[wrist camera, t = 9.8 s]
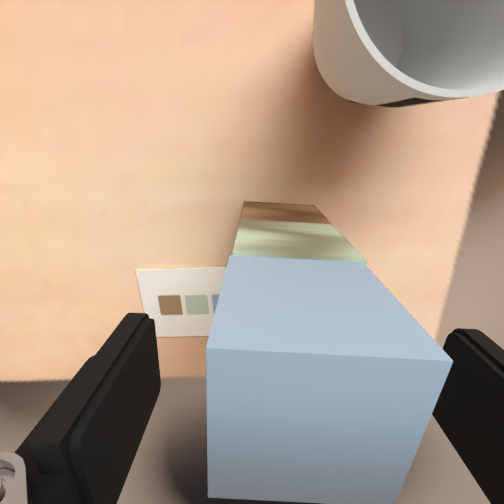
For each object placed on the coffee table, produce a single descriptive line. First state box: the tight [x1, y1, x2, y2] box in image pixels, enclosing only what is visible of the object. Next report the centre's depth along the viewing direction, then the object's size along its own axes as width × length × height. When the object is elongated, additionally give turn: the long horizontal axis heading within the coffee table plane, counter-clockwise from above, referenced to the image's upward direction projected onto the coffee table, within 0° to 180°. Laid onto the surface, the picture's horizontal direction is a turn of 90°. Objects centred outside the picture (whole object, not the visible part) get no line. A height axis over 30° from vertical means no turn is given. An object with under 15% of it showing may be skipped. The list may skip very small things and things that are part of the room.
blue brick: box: [206, 255, 453, 504], centre depth 9 cm, size 5×5×5 cm
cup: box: [312, 0, 504, 107], centre depth 11 cm, size 8×8×10 cm
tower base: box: [232, 201, 367, 265], centre depth 16 cm, size 5×5×10 cm
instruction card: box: [136, 267, 226, 337], centre depth 22 cm, size 9×6×1 cm
